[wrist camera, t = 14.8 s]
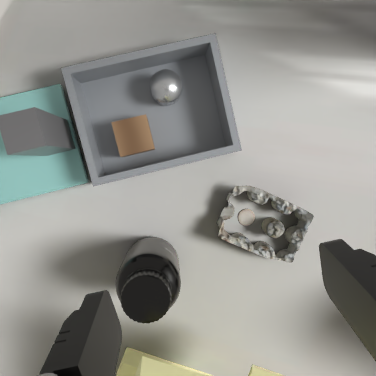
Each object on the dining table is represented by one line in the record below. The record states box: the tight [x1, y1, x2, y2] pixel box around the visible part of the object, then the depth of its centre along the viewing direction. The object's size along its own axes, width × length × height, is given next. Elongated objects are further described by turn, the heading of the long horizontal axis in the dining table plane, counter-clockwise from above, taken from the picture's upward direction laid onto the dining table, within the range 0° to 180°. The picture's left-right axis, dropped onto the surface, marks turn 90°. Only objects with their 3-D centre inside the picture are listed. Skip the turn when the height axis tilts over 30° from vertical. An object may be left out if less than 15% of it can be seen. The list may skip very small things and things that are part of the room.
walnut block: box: [111, 114, 155, 157], centre depth 39 cm, size 4×4×3 cm
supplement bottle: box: [116, 237, 181, 323], centre depth 37 cm, size 7×7×12 cm
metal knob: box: [150, 69, 182, 106], centre depth 39 cm, size 4×4×3 cm
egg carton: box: [217, 186, 314, 262], centre depth 42 cm, size 11×8×4 cm
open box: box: [61, 33, 242, 186], centre depth 39 cm, size 17×13×5 cm
